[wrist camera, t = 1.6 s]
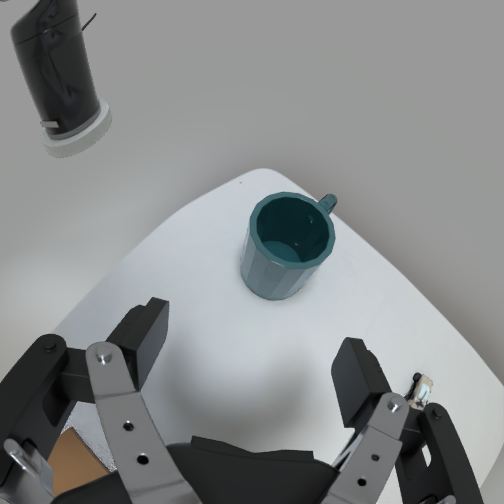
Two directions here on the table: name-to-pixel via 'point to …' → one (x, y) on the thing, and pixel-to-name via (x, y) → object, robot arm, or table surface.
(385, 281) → the table surface
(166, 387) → the table surface
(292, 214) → the mug
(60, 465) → the cork mat
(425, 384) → the toy car
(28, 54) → the robot arm
